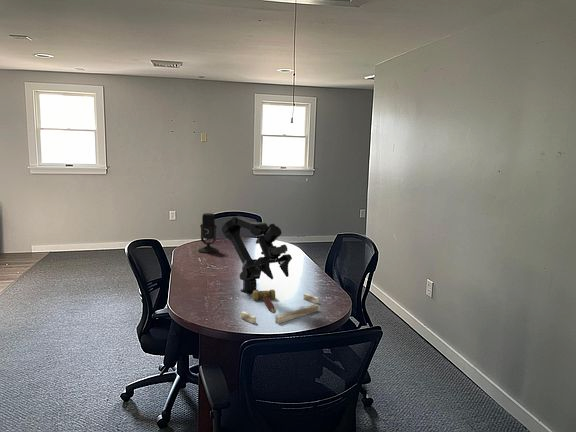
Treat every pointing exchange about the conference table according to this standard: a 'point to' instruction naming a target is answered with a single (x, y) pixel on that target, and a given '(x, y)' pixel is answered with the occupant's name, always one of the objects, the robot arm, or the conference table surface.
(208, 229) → the microphone
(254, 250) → the conference table surface
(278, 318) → the wooden bars
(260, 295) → the gavel
